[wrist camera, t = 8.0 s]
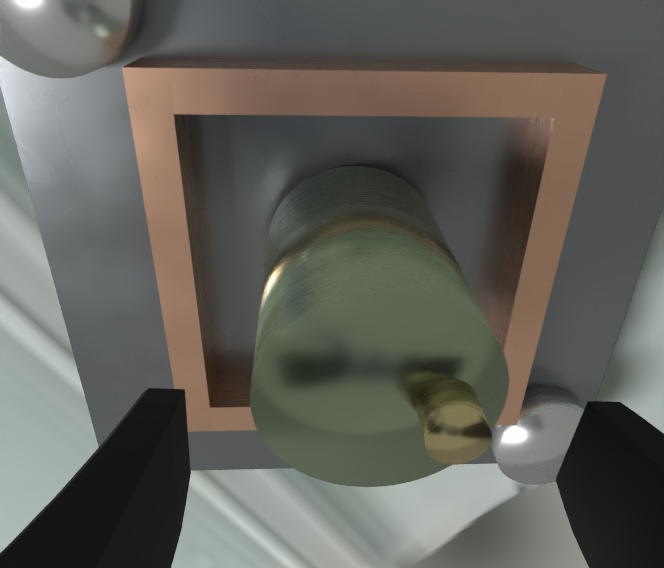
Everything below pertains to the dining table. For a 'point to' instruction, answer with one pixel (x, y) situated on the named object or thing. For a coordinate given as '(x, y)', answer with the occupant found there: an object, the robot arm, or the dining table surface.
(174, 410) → the robot arm
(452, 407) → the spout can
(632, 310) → the dining table surface
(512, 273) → the grey square slab
